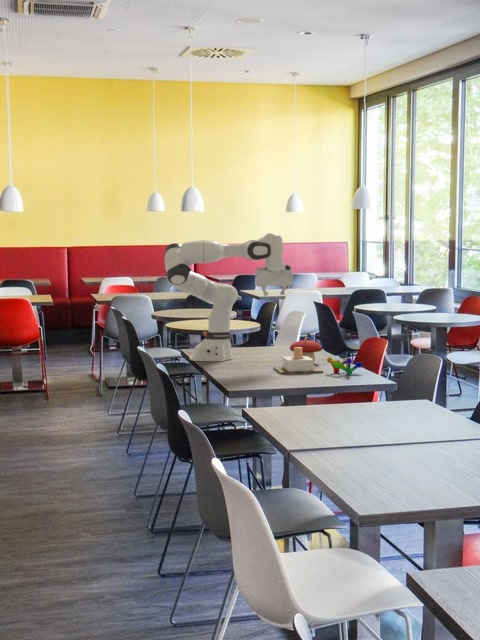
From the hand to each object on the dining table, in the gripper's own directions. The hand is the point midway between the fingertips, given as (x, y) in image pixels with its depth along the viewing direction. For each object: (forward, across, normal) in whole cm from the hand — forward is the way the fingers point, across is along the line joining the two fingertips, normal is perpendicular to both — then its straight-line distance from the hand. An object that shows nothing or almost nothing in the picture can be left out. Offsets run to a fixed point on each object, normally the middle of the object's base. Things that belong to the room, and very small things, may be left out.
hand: (274, 295), depth 416 cm
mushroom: (+34, +15, -5) cm, 38 cm away
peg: (+33, -1, -23) cm, 40 cm away
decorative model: (+34, +13, -41) cm, 55 cm away
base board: (+34, -1, -23) cm, 41 cm away
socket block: (+34, -1, -23) cm, 41 cm away
